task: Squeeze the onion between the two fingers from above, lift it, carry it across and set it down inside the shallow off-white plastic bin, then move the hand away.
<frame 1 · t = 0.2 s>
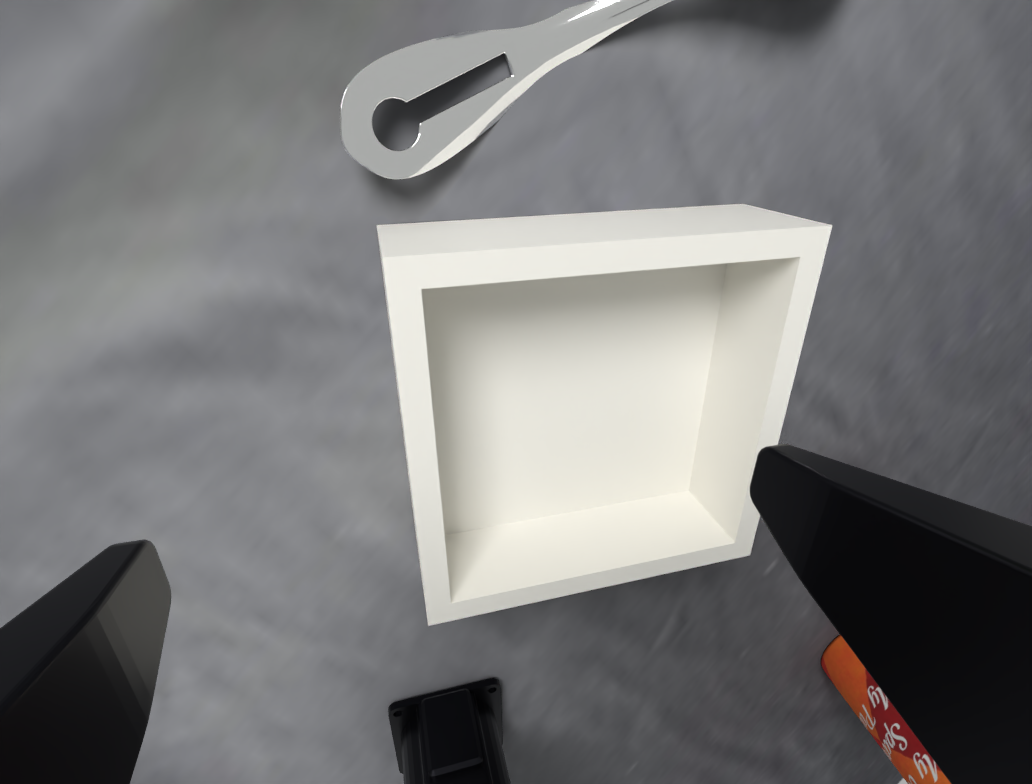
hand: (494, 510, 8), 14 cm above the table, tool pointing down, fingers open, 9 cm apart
paper cup: (850, 646, 42), on the table
stirrer: (602, 16, 19), on the table
bin: (567, 385, 25), on the table
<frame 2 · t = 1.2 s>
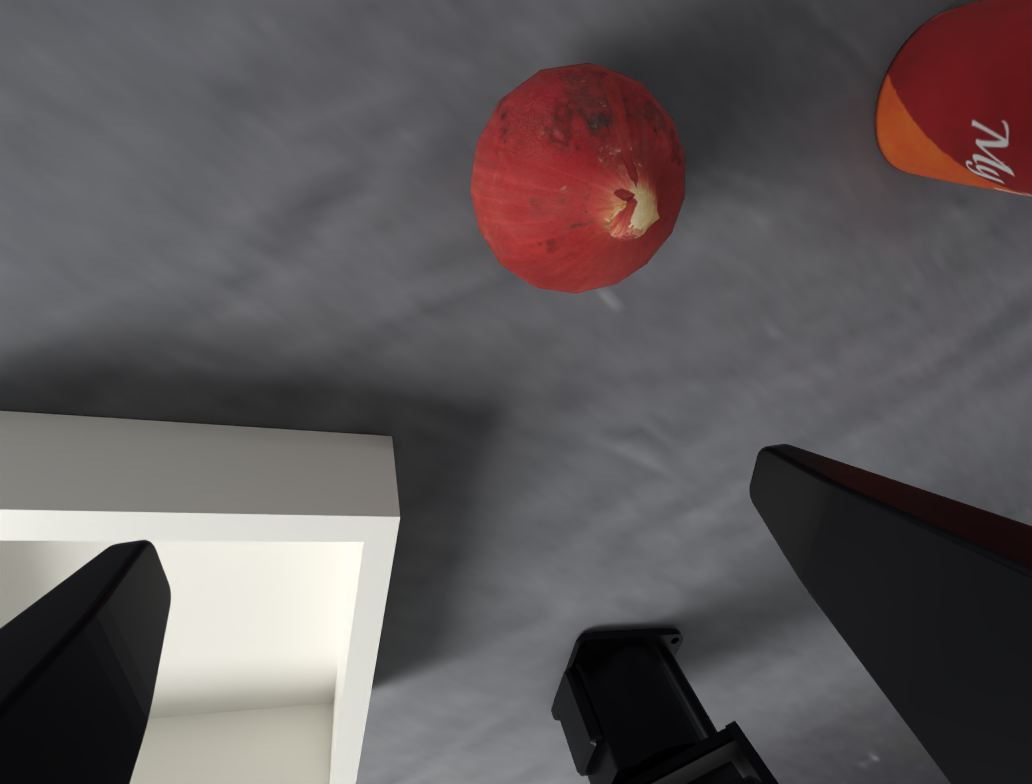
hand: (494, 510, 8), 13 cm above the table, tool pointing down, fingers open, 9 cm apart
paper cup: (933, 95, 21), on the table
onion: (535, 173, 19), on the table
bin: (178, 585, 22), on the table
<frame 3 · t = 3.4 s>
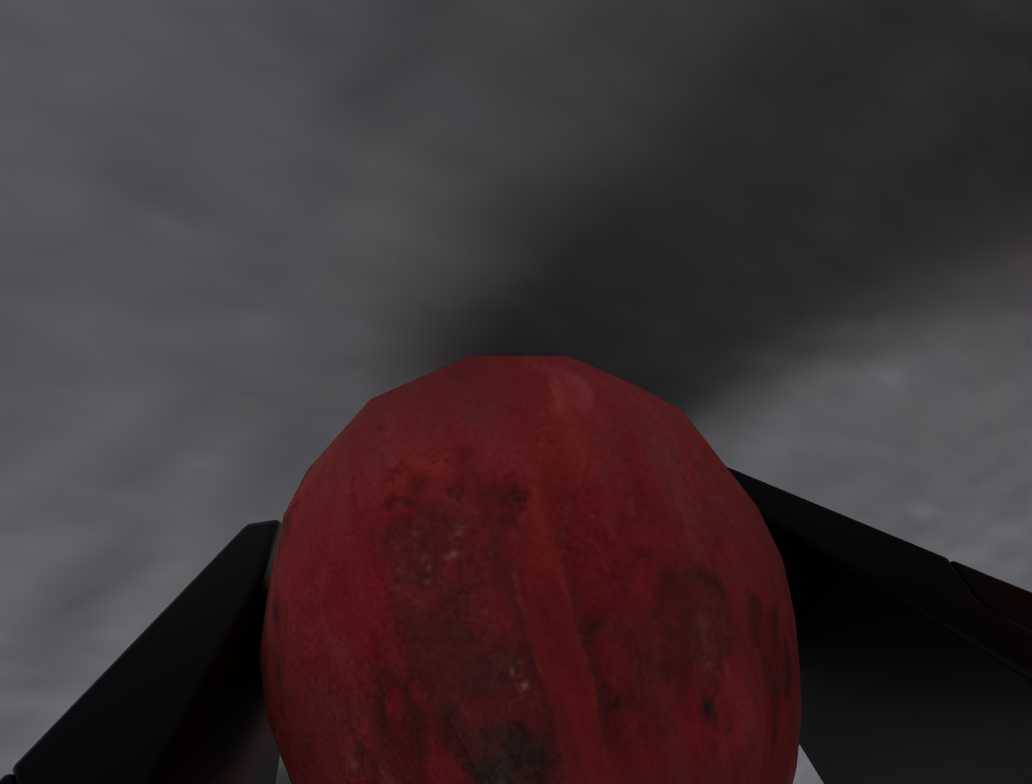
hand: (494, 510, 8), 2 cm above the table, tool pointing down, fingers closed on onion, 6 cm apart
onion: (467, 433, 10), on the table, touching gripper
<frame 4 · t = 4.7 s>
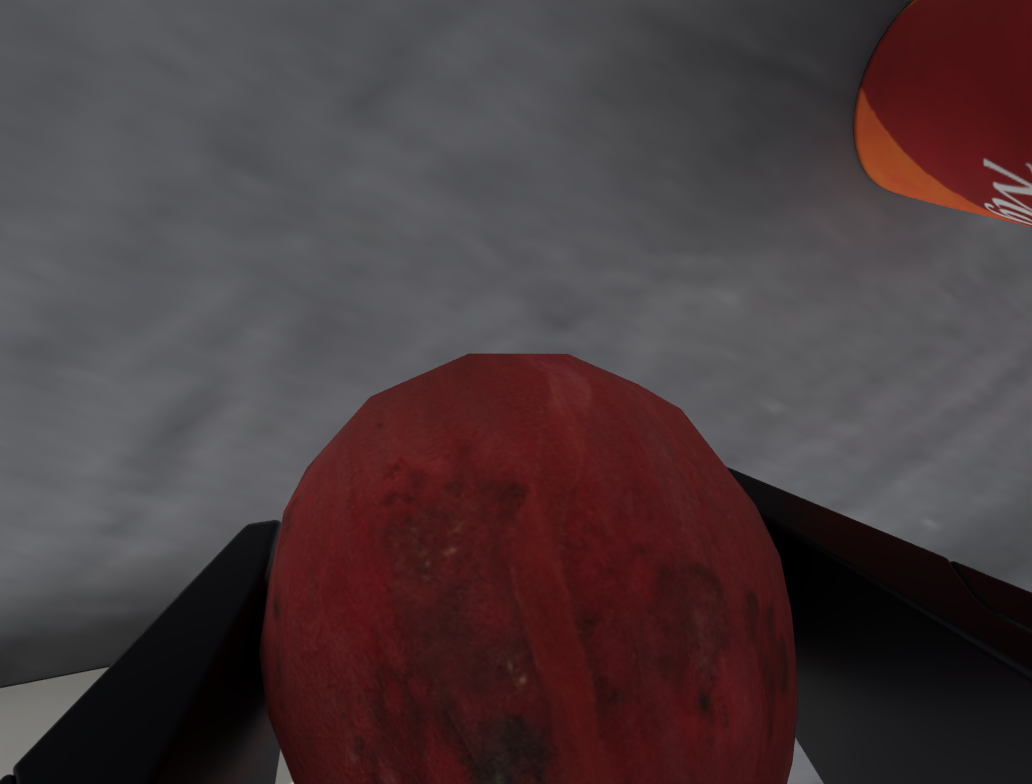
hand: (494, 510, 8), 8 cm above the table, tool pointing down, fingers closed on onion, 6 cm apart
paper cup: (931, 92, 16), on the table
onion: (466, 431, 10), point 6 cm above the table, touching gripper
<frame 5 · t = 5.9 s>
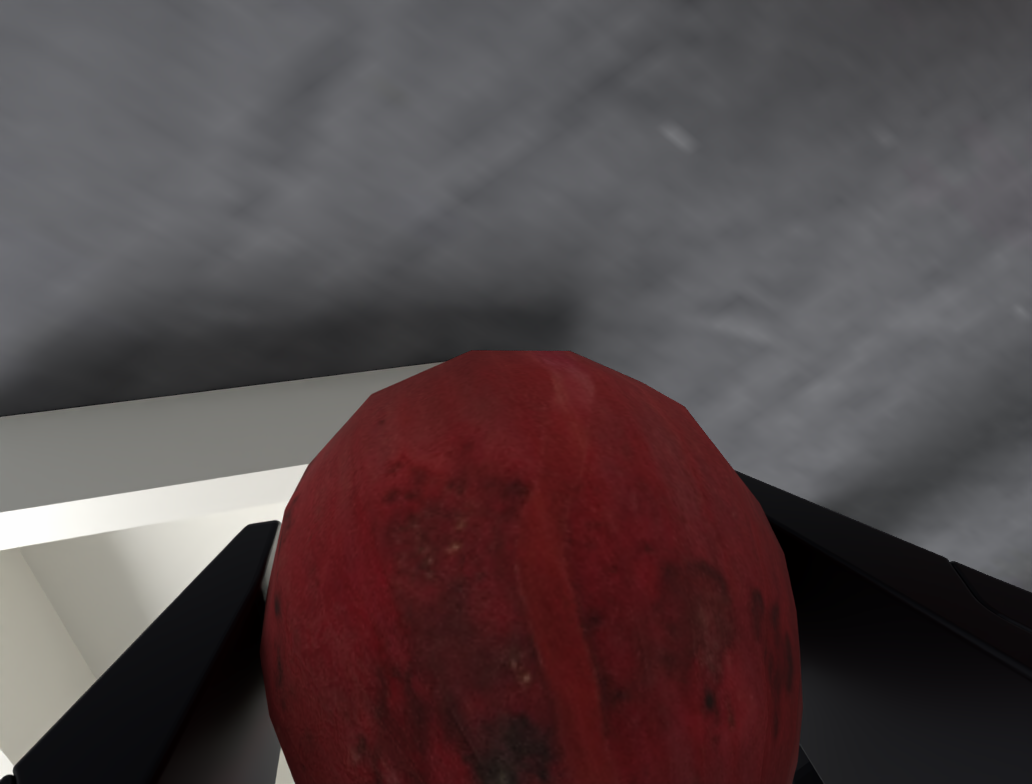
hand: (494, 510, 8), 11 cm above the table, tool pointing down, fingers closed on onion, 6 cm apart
onion: (467, 430, 10), point 9 cm above the table, touching gripper
bin: (275, 565, 21), on the table
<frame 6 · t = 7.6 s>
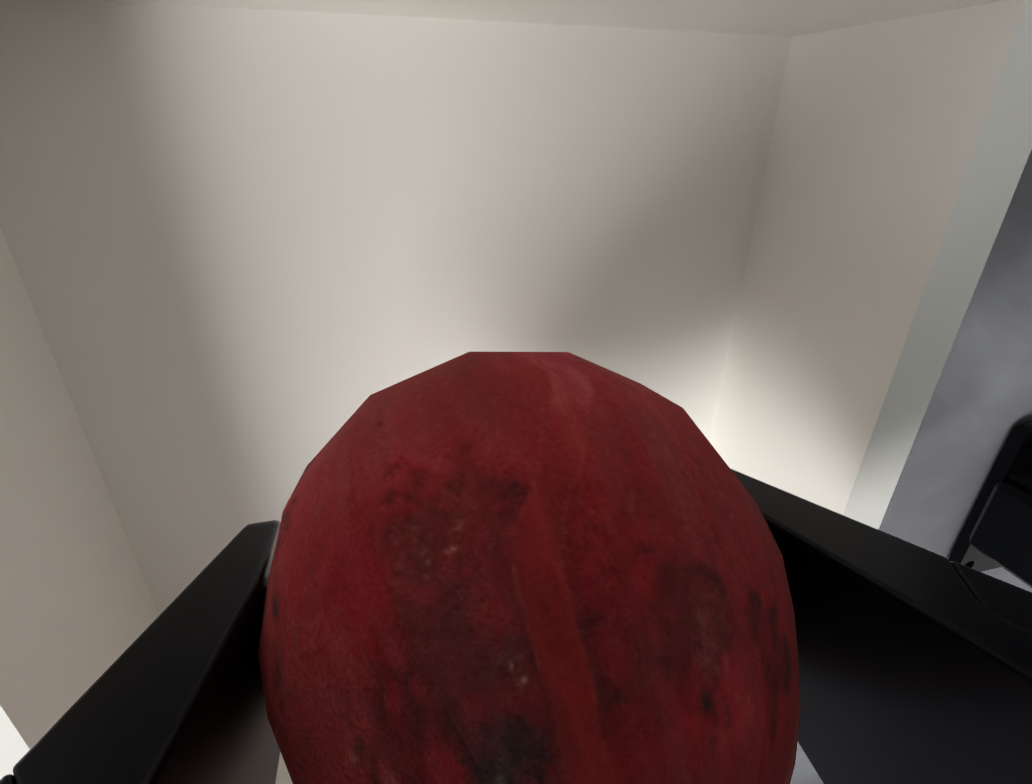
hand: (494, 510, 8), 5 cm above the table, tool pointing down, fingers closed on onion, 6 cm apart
onion: (466, 430, 10), point 2 cm above the table, touching gripper
bin: (442, 376, 12), on the table
when the fingers open (4 cm above the table, at t = 8.5 s): onion drops 1 cm, resting on bin.
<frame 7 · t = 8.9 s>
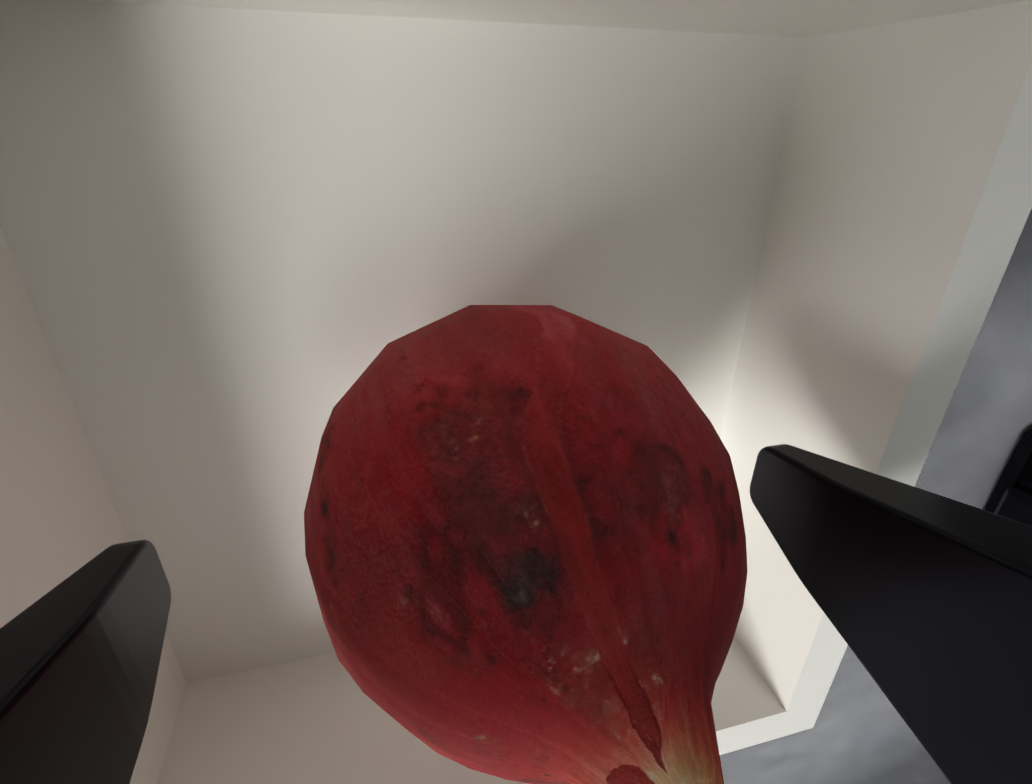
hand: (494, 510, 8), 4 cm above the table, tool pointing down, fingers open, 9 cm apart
onion: (459, 393, 11), point 1 cm above the table, touching bin
bin: (448, 381, 12), on the table
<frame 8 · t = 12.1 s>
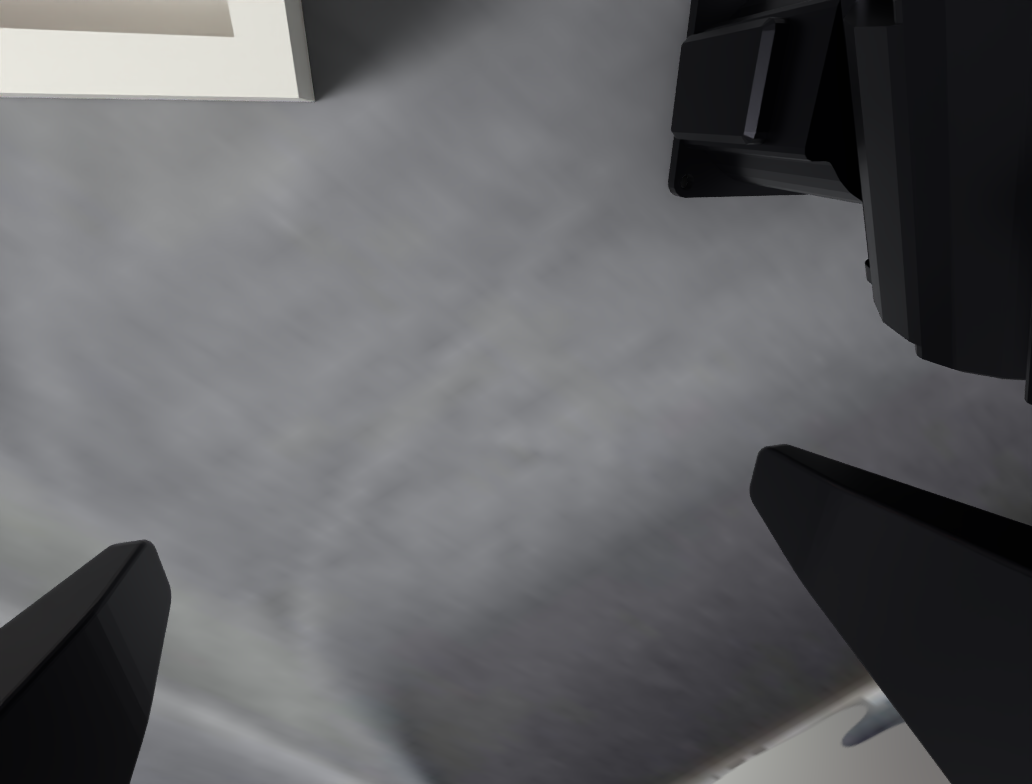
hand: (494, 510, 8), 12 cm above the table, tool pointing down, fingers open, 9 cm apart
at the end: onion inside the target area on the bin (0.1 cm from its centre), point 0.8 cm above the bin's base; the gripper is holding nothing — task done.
